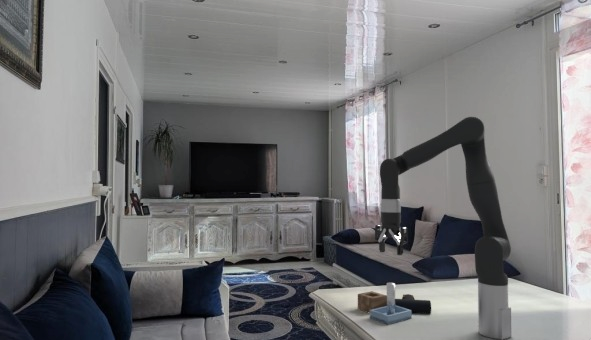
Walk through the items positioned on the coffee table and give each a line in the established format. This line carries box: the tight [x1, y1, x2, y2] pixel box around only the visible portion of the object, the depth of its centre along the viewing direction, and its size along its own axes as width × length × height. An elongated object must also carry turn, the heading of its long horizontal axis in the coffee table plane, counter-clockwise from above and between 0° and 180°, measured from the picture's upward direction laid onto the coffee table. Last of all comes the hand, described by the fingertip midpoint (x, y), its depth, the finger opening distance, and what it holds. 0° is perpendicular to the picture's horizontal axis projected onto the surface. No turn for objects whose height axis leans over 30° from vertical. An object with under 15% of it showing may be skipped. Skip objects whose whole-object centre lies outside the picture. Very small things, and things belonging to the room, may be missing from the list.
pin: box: [386, 282, 396, 315], centre depth 152 cm, size 3×3×12 cm
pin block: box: [357, 290, 387, 314], centre depth 163 cm, size 8×8×6 cm
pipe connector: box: [395, 293, 432, 314], centre depth 164 cm, size 12×5×15 cm
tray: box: [369, 305, 413, 325], centre depth 152 cm, size 9×13×3 cm
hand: (390, 253), depth 153 cm, fingers open, 8 cm apart
